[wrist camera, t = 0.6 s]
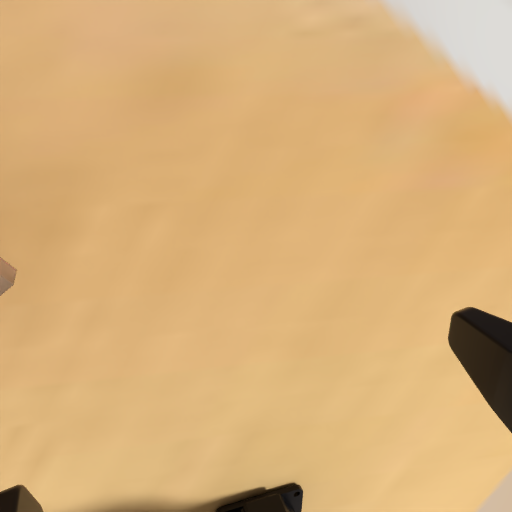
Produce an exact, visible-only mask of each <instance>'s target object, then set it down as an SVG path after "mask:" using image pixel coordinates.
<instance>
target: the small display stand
mask: <svg viewBox="0 0 512 512" xmlns="http://www.w3.org/2000/svg"><path fill="white" fill-rule="evenodd" d="M16 271H17V270H16V269H15V268H14V267H12V266H11V265H10V264H9V263H7V262H6V261H5V260H3V259H2V258H1V257H0V296H1V295H2V294H3V293H4V292H5V291H7V290H8V289H9V288H10V287H11V286H13V285H14V280H15V276H16Z"/></svg>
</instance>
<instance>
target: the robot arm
mask: <svg viewBox="0 0 512 512" xmlns="http://www.w3.org/2000/svg"><path fill="white" fill-rule="evenodd" d="M448 341H449V345H450V347H451V349H452V351H453V352H454V354H455V355H456V357H457V358H458V360H459V361H460V363H461V364H462V366H463V367H464V369H465V370H466V372H467V373H468V375H469V376H470V378H471V379H472V380H473V382H474V383H475V385H476V386H477V388H478V389H479V391H480V392H481V394H482V395H483V397H484V398H485V400H486V401H487V403H488V404H489V405H490V407H491V408H492V409H493V411H494V412H495V413H496V414H497V416H498V417H499V418H500V419H501V421H502V422H503V423H504V424H505V425H506V427H507V428H508V429H509V430H510V431H511V433H512V322H509V321H507V320H504V319H502V318H499V317H497V316H494V315H492V314H489V313H486V312H484V311H481V310H479V309H476V308H473V307H467V308H464V309H462V310H459V311H456V312H454V313H453V315H452V317H451V322H450V329H449V335H448ZM302 498H303V490H302V488H301V486H300V485H293V486H290V487H286V488H283V489H280V490H276V491H273V492H270V493H266V494H263V495H260V496H257V497H253V498H250V499H247V500H243V501H240V502H237V503H233V504H230V505H227V506H224V507H221V508H219V509H217V511H216V512H301V509H302ZM0 512H43V509H42V507H41V505H40V504H39V503H38V501H37V500H36V499H35V498H34V497H33V496H32V494H31V493H30V492H29V491H28V490H27V489H26V487H24V486H23V485H16V486H14V487H11V488H9V489H6V490H4V491H1V492H0Z"/></svg>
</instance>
